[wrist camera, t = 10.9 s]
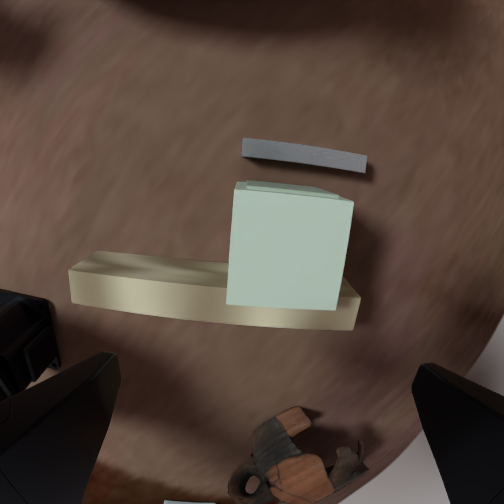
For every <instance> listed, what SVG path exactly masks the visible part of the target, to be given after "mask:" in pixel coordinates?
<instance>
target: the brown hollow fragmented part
mask: <svg viewBox="0 0 504 504" xmlns="http://www.w3.org/2000/svg"><path fill="white" fill-rule="evenodd" d="M310 426H311V420H310V419H309V418H308V417H307V416H306V415H305V413H304V411H303V410H302V409H301V407H300V406H296V407H294V408H291V409H289V410H287V411H284V412H282V413H281V414H279V415H277V416H276V417H274V418H272V419H270V420H269V421H268V422H265V423H263V424H262V425H261V426H260V427H258V428H257V429H256V430H255V432H254V433H253V436H252V440H253V453H252V454H251V455H250V457H249V459H248V460H247V461H246V462H245V463H243V464H242V465H241V466H239V467H238V468H237V469H236V470H235V471H234V473H233V474H232V476H231V478H230V480H229V482H228V494H229V495H230V496H231V497H232V499H233V501H234V502H235V503H237V504H264V503H266V502H269V501H275V500H281V501H282V502H288V503H289V504H313V503H315V502H318V501H319V500H321V499H322V498H324V497H326V496H327V495H329V494H331V493H335V492H336V491H338V490H340V489H342V488H343V487H345V486H346V485H348V484H350V483H352V482H353V481H355V480H356V479H358V478H359V477H361V476H362V475H364V474H365V473H366V472H367V471H368V470H369V468H368V467H366V466H365V464H364V463H363V457H364V445H363V441H362V440H360V441H358V451H357V453H355V452H353V451H351V448H350V447H339V448H337V450H336V453H337V457H338V458H337V460H336V463H335V465H333V466H330V467H327V468H325V467H324V464H323V460H322V459H321V458H319V457H318V456H317V455H315V454H303V452H302V451H301V450H300V449H299V448H298V447H297V446H296V445H295V443H294V442H293V440H292V437H294V436H295V435H296V434H297V433H299V432H301V431H303V430H304V429H306V428H308V427H310ZM251 476H256V477H258V478H259V479H260V485H259V486H258V488H257V490H256V491H255V492H254V493H253V494H249V493H247V492H246V490H245V486H246V483H247V481H248V479H249V478H250V477H251ZM269 481H270V482H271V483H272V484H273V485H270V483H269Z"/></svg>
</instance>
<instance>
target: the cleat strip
mask: <svg viewBox="0 0 504 504" xmlns="http://www.w3.org/2000/svg"><path fill="white" fill-rule="evenodd" d="M241 156H242V157H249V158H259V159H268V160H277V161H285V162H293V163H301V164H308V165H315V166H322V167H328V168H335V169H341V170H347V171H353V172H360V173H365V170H366V162H367V156H365V155H360V154H355V153H349V152H344V151H338V150H332V149H326V148H320V147H314V146H307V145H300V144H293V143H285V142H277V141H269V140H260V139H250V138H243V146H242V155H241Z"/></svg>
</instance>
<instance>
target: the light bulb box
mask: <svg viewBox="0 0 504 504" xmlns="http://www.w3.org/2000/svg"><path fill="white" fill-rule="evenodd" d="M164 504H216V503H200V502H180V501H168V500H165V501H164Z"/></svg>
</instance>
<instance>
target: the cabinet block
mask: <svg viewBox="0 0 504 504" xmlns="http://www.w3.org/2000/svg"><path fill="white" fill-rule="evenodd" d="M353 206H354V202H353V201H350V200H348V199H345V198H342V197H340V196H339V195H337V194H334V193H331V192H328V191H325V190H322V189H319V188H316V187H310V186H302V185H293V184H283V183H273V182H262V181H251V180H246V182H238V181H237V184H236V186H235V189H234V201H233V213H232V226H231V240H230V253H229V268H228V282H227V298H226V304H228V305H241V306H256V307H272V308H289V309H310V310H335V311H336V306H337V301H338V296H339V291H340V286H341V280H342V275H343V269H344V264H345V258H346V252H347V246H348V240H349V233H350V227H351V220H352V213H353Z"/></svg>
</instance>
